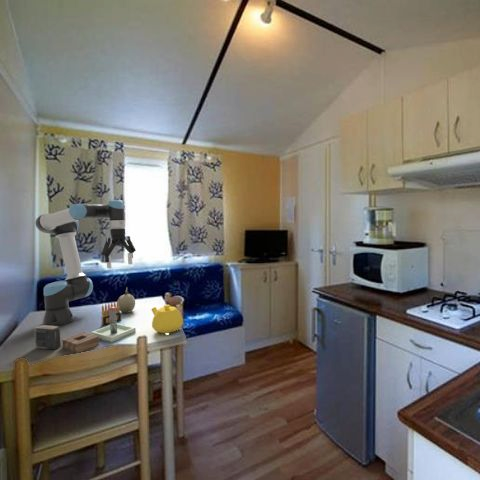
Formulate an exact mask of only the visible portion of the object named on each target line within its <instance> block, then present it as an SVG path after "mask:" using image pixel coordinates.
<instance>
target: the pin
mask: <svg viewBox="0 0 480 480" xmlns="http://www.w3.org/2000/svg"><path fill="white" fill-rule="evenodd" d="M116 307H117V306H116ZM116 307H114V306H113V307H111V306H110V308H109V319H110V324H109V325H110V333H111V334H116V333H117V323H118V322H117V321H116Z"/></svg>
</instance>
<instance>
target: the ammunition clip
mask: <svg viewBox="0 0 480 480" xmlns="http://www.w3.org/2000/svg"><path fill="white" fill-rule="evenodd" d="M110 307H116V321H117V323H119V322H122V316H121V311H120V309H119V303H118V300H117V301H116V302H115V301H113V302H112V301H111V303H109V302H108V303H107V304H106V303H105V304H102V306H101V326H102V327H106V326H108V325H110V319H109V308H110Z"/></svg>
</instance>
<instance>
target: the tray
mask: <svg viewBox="0 0 480 480" xmlns="http://www.w3.org/2000/svg"><path fill="white" fill-rule="evenodd" d="M136 332H137V331H136V327H135V326H130V325H125V324H122V323H119V322H117V333H116V334H111V333H110V324H109V325H106V326H102V327H100V328H98V329H96V330H93V331H91V333H90V334H92V335H96V336H98V340H102V341H105V342H109V343H114V342H117V341H119V340H122V339H123V338H125V337H126V338H127V336H131V335H133V334H134V333H135V334H136Z"/></svg>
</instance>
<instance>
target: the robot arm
mask: <svg viewBox="0 0 480 480" xmlns="http://www.w3.org/2000/svg"><path fill="white" fill-rule="evenodd" d="M85 219H109V228H110V230H109V231H110V232H109V233H110V237H106V238H105V242H104V246H103V248H102V251H101V253H100V255H101V257H102V256H103V257H104V259H105V263H106V268H107V269H112V257H111V254H112V252H113V250H114V249H115V247H117V246H120V245H121V246H122V247H123V248H124V249H125V250H126V251H127V261H128V263H127V264H128V265H133V259H134V253H135V252H136V248H135V246H134V244H133V242H132V240H131V236H130V235H126V228H125V227H126V224H125V207H124V201H123V200H120V199H109V200H108V203H107V204H94V203H93V204H92V203H91V204H90V203H89V204H88V203H87V204H86V203H72V204H71V206H69V207H68V208H66V209H62V210H59V211H56V212H53V213H43V214H40V215H38V216H37V218H36V219H35V223H34V224H35V227H36V228H37V230H39V232H42V233H45V234H54V236H55V238H56V239H58V240H59V246H60V250H61V254H62V259H63V262H64V266H65V272H66V278H65V279H64V280H58V281H54V282H51V283H47V284H45V286H44V287H43V298H44V300H43V301H44V310H45V312H44V316H43V318H42V319H43V320H42V325H47V326H57V327H60V326H64V325H66V324H69V323H71V322H72V321H74V315H73V313H72V311H71V309H70V306H69V305H70V304H69V302H72V301H76V300H79V299H84V298H86V297H89V296H90V295H91V294H92V292H93V289H94V285H93V281H92V279H91V278H89V277H87V274H86V273H84V272H83V267H82V263H81V260H80V259H81V258H80V255H79V250H78V246H77V242H76V237H75V236H76V235H77V232H78V230H79V229H80V228H79V227H80V224H79V221H81V220H85Z"/></svg>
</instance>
